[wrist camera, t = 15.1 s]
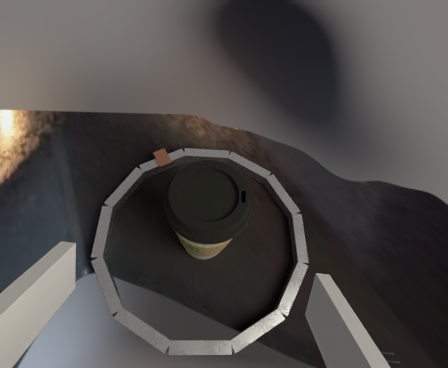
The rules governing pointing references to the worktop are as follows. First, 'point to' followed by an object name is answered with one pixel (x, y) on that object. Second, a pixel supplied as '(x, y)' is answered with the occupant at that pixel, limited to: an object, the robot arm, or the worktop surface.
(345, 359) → the robot arm
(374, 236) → the worktop surface
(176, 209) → the coffee cup
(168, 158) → the centring ring
